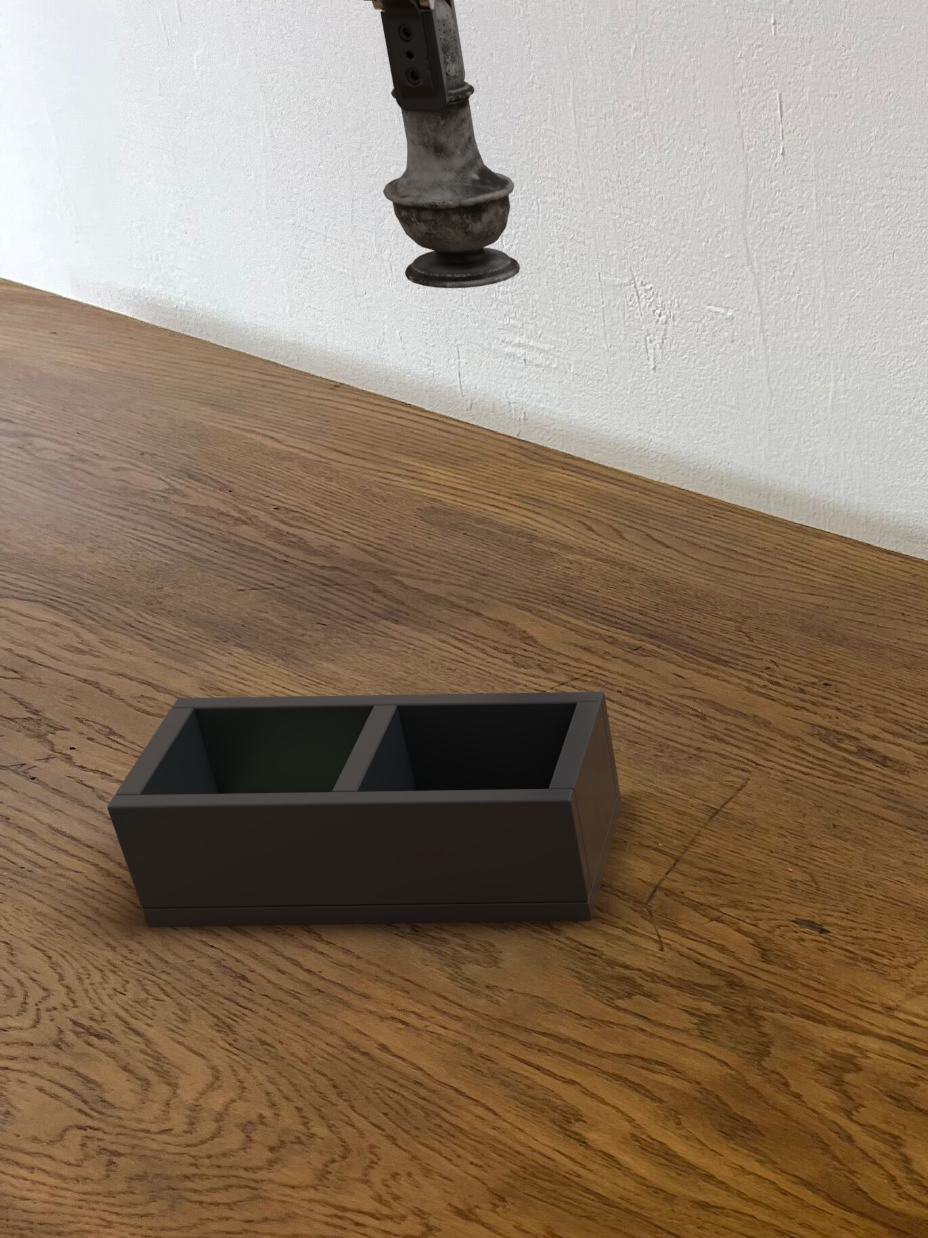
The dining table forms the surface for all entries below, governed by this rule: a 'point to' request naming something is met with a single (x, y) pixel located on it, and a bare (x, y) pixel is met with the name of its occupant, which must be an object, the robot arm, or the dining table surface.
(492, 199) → the salt shaker
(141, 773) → the divided open box
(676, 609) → the dining table surface
